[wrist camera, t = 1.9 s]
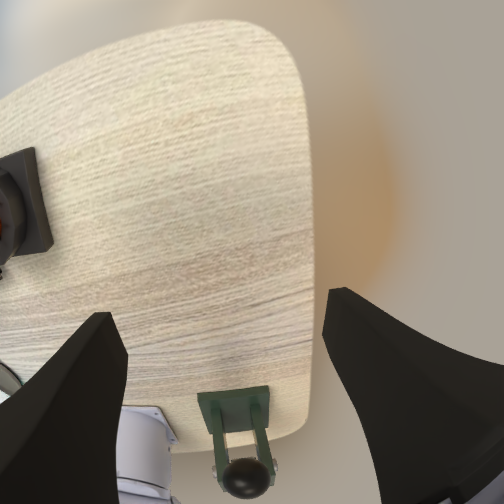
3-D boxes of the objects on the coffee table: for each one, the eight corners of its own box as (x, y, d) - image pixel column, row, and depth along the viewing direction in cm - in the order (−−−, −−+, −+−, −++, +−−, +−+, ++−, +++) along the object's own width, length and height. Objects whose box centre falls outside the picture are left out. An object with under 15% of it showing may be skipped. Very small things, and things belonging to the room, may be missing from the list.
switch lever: (216, 461, 12) (224, 505, 11) (268, 455, 13) (277, 498, 11) (227, 457, 22) (232, 482, 20) (257, 453, 23) (262, 479, 21)
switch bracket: (197, 393, 25) (202, 477, 17) (267, 385, 26) (288, 467, 17) (208, 427, 28) (216, 495, 20) (266, 421, 29) (282, 487, 21)
